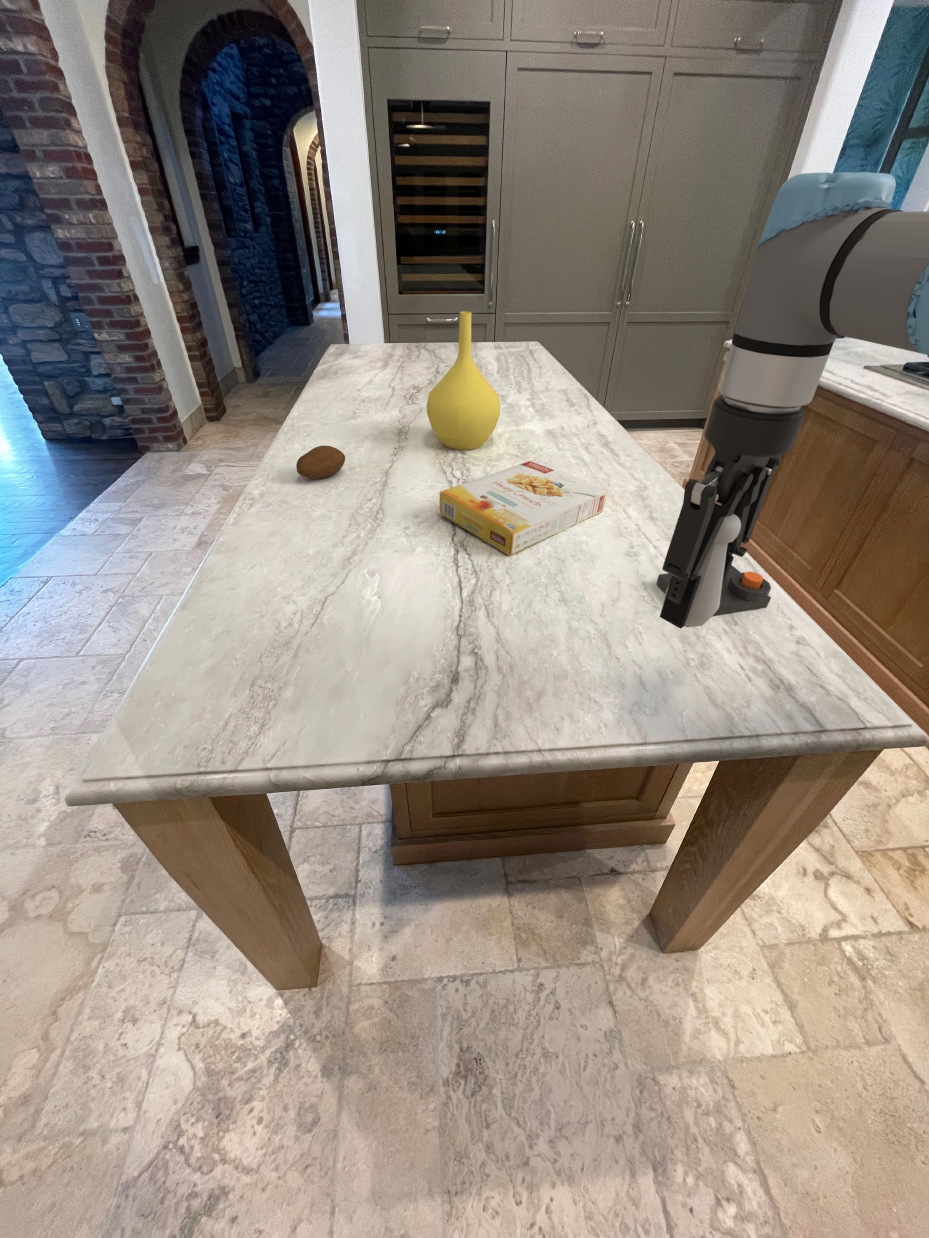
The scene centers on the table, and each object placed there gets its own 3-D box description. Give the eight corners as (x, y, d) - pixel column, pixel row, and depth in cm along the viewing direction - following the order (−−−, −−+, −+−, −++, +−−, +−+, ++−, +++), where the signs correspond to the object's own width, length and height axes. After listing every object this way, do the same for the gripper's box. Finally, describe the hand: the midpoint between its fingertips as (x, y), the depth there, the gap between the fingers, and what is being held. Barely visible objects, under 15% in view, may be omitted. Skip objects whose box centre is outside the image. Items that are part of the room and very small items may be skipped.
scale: (729, 573, 93) (736, 556, 91) (770, 608, 85) (778, 590, 83) (655, 583, 90) (661, 566, 88) (691, 621, 82) (698, 603, 80)
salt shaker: (660, 598, 65) (689, 498, 57) (709, 606, 63) (747, 505, 56) (660, 627, 60) (693, 523, 52) (714, 636, 59) (755, 531, 51)
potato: (291, 480, 119) (285, 449, 114) (334, 466, 125) (330, 436, 121) (309, 489, 115) (303, 458, 111) (352, 474, 122) (348, 444, 118)
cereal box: (437, 490, 103) (534, 455, 118) (437, 516, 106) (531, 478, 122) (514, 532, 92) (610, 486, 107) (511, 559, 95) (604, 511, 110)
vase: (511, 442, 140) (522, 312, 122) (468, 462, 129) (473, 323, 110) (457, 426, 149) (459, 303, 130) (412, 444, 137) (407, 312, 119)
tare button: (751, 578, 86) (755, 570, 85) (763, 588, 84) (767, 580, 83) (737, 580, 85) (740, 572, 84) (748, 590, 83) (752, 582, 82)
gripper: (770, 376, 54) (703, 569, 68) (661, 409, 45) (610, 625, 59) (849, 393, 50) (760, 596, 64) (747, 433, 40) (668, 662, 54)
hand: (688, 610), depth 61 cm, fingers closed on salt shaker, 6 cm apart
